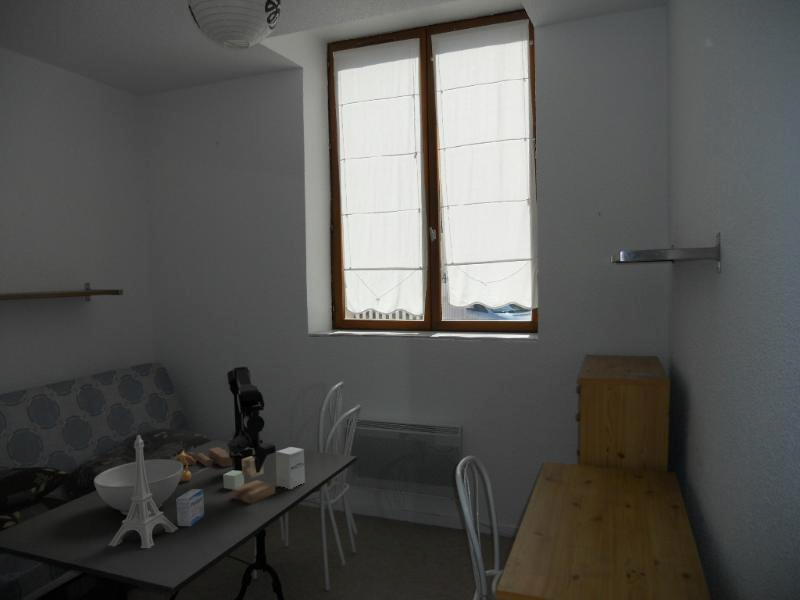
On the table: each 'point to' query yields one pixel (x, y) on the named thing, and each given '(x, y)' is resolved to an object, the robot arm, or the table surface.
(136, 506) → the eiffel tower
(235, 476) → the sage cube
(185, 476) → the figurine
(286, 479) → the supplement box
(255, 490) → the walnut block
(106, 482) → the decorative bowl
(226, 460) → the wooden block set
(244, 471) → the oak block
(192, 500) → the medicine box
